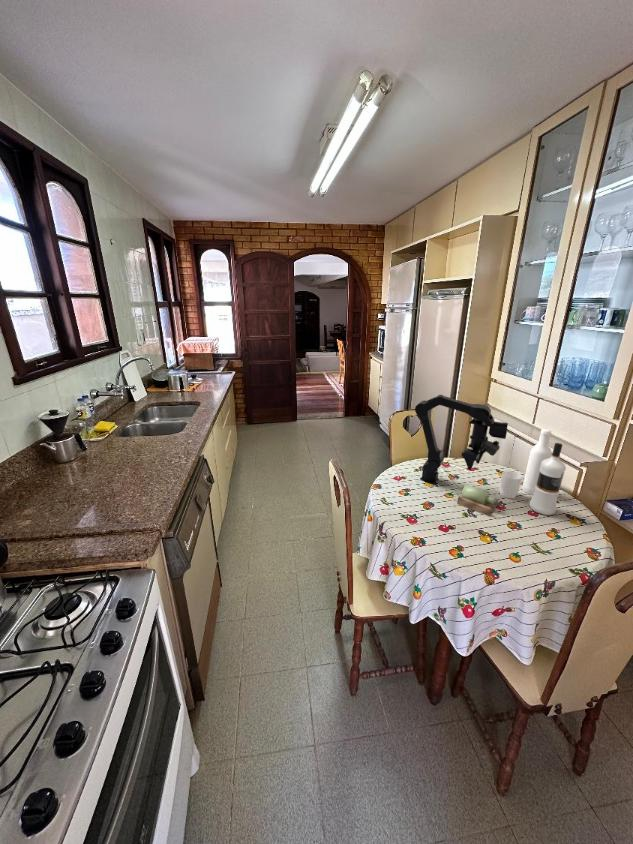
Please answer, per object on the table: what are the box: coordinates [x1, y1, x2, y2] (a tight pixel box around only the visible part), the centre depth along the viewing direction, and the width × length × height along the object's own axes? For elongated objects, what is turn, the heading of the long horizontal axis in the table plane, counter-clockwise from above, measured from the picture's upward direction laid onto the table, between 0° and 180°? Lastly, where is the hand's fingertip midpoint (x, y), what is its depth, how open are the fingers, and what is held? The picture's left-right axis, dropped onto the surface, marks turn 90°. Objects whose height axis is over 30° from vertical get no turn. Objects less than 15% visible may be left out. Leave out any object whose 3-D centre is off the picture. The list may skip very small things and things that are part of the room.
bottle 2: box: [521, 428, 553, 496], centre depth 154 cm, size 8×8×30 cm
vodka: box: [529, 442, 567, 516], centre depth 140 cm, size 9×9×30 cm
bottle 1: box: [461, 483, 499, 506], centre depth 147 cm, size 13×6×6 cm, turn 47°
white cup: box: [499, 470, 523, 499], centre depth 154 cm, size 8×8×10 cm
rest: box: [456, 495, 499, 517], centre depth 148 cm, size 13×10×3 cm
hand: (473, 466), depth 156 cm, fingers open, 9 cm apart
